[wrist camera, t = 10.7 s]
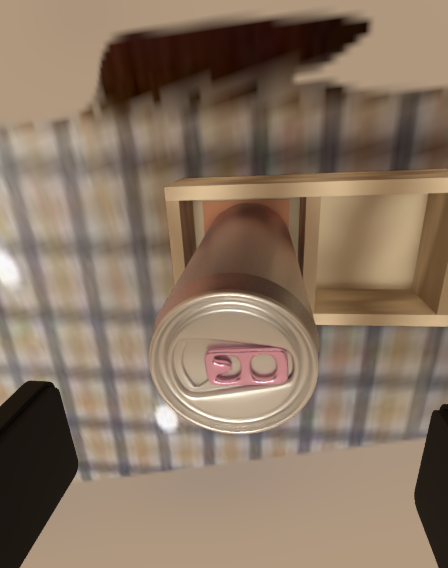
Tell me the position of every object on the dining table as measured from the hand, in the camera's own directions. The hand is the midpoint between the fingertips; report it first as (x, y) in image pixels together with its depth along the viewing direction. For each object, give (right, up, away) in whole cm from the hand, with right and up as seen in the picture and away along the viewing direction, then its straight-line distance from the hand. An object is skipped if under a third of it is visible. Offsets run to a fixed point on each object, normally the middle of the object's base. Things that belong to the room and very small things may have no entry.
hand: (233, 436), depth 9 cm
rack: (+10, +7, +16) cm, 20 cm away
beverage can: (+2, +7, +17) cm, 18 cm away
